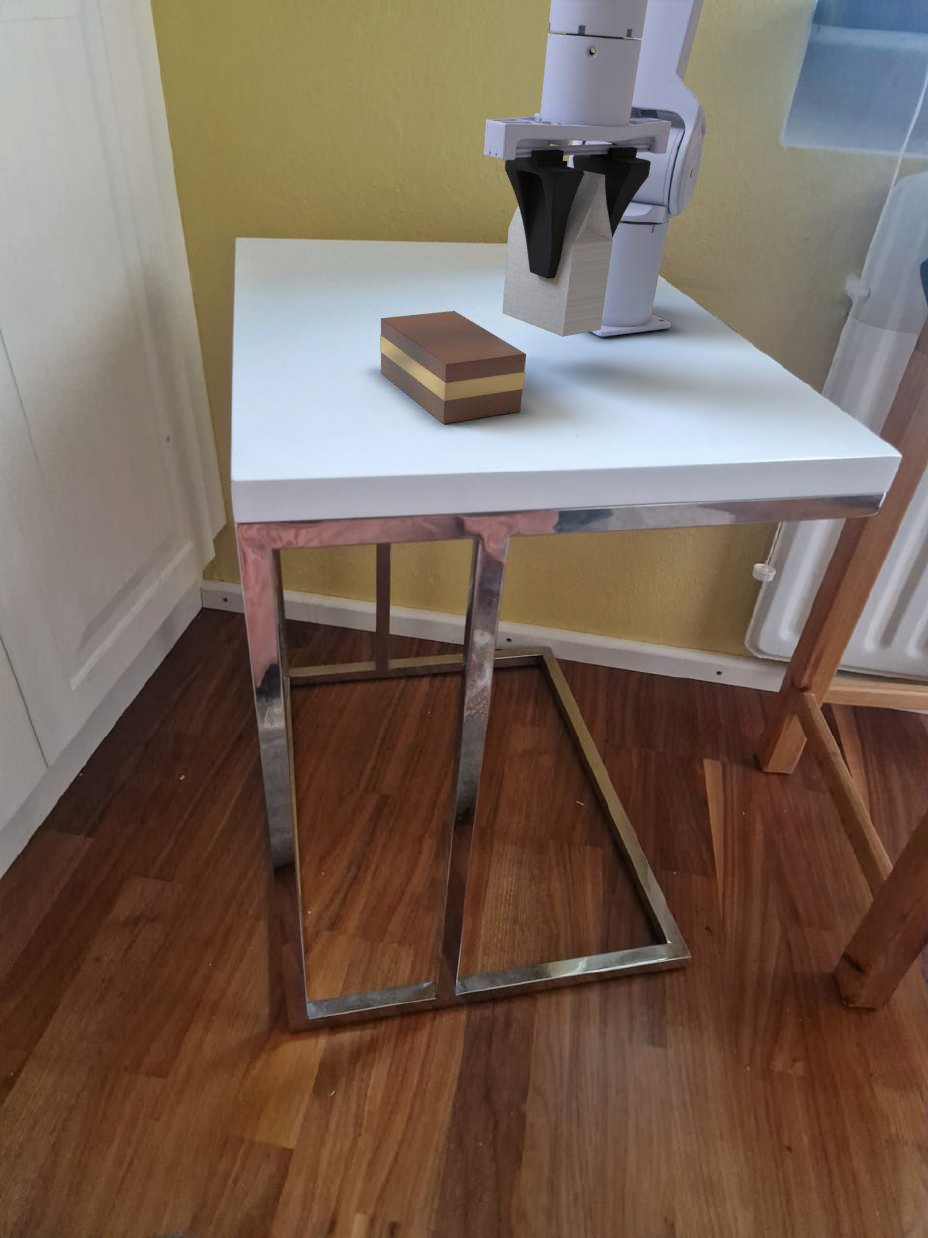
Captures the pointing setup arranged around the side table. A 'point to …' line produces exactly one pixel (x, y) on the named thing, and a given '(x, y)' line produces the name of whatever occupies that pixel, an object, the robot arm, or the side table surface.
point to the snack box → (452, 366)
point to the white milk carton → (564, 268)
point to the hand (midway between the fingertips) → (565, 271)
